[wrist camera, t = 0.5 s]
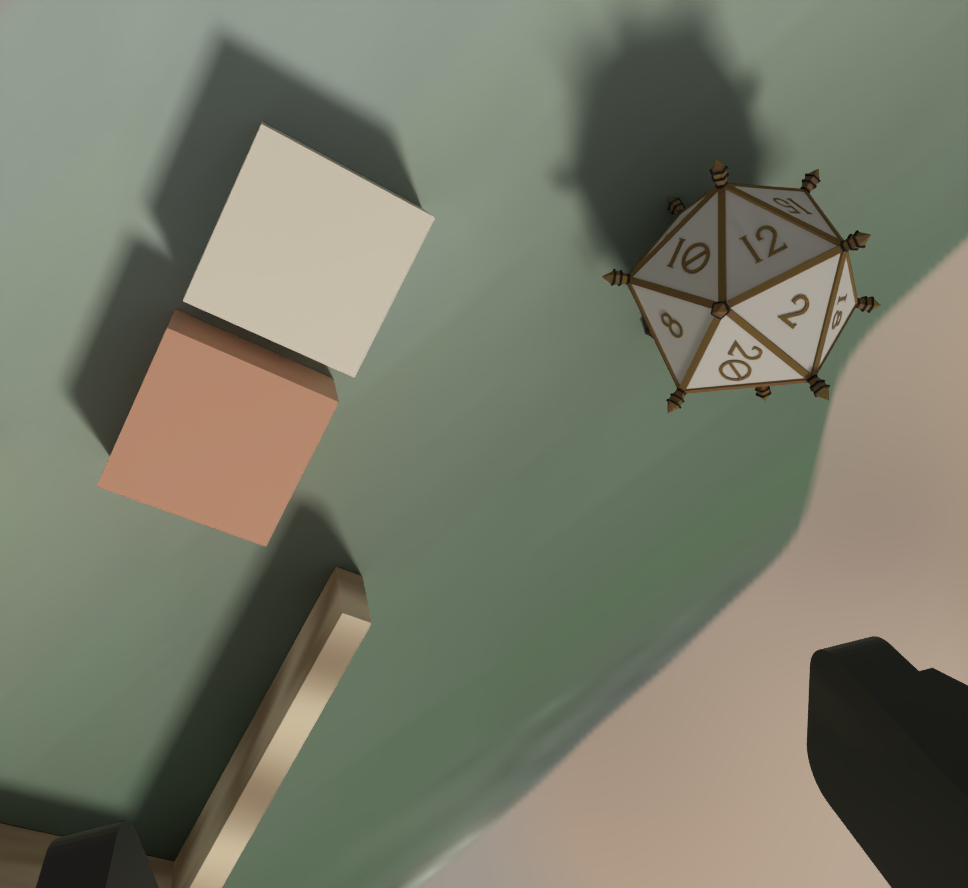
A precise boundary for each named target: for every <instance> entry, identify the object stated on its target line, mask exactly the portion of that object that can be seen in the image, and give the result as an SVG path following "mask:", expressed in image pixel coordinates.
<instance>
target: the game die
mask: <svg viewBox="0 0 968 888" xmlns="http://www.w3.org/2000/svg"><path fill="white" fill-rule="evenodd" d="M727 169H728V166H724V165H723V164H722V163H721V162H720V161H719V160H717V159H716V160H715V162H714V164H713V167H712V169H711V170H710V172H711V174H712V179H713V181H714V182H716V186H715V187H714V188H712V189H711V190H710V191H708V192H707V193H705V194H704V195H703V196H701V197H700V198H699V199H697V200H696V201H695V202H693V203H692V204H691V205H689V206H688V207H686V208H685V207H684V205H683V203H682V202H681V200H680V198H677V199H676V198H670V197H669V207H668V210H671V211H672V214H676V215H677V217H676V218H675V219H674V220H673V221H672V223H671V224H670V225H669V226H668V227H667V229H666V230H665V231H664V232H663V233H662V235H661V236H660V237H659V238H658V240H657V241H656V242H655V243H654V244H653V246H652V247H651V248H650V249H649V250H648V252H647V253H646V254H645V255H644V256H643V258H642V259H641V260H640V261H639V263H638V264H637V265H636V266H635V267H634V269H633V270H632V271H631V272H630V273H629V274H625V273H623V272H622V270H620V272H619V271H615V269H613V271H612V272H610V273H608V274H606V275H604V276H602V277H603V278H604V279H605V280H607V281H608V282H609V283H610V284H611V286H613V285H614V284H616V285H618V286H620V285H622V284H627V285H628V287H629V289H630V291H631V293H632V295H633V297H634V299H635V301H636V303H637V305H638V308H639V310H640V312H641V314H642V316H643V318H644V320H645V322H646V324H647V331H646V335H649V336H651V337H652V338H653V339H654V341H655V343H656V345H657V347H658V349H659V351H660V353H661V355H662V357H663V360H664V362H665V364H666V366H667V368H668V370H669V372H670V374H671V376H672V378H673V380H674V382H675V385H676V387H677V390H676V391H675V392H674V393H673V394H670V395H671V397H670V398H669V399H667V400H666V401H668V413H669V412H672V411H674V410H676V409H678V408H680V409H681V404H682V402H683V403H684V396H685V394H687V393H696V392H707V391H718V390H729V389H740V388H751V387H756V389H755V391H757V393H756V396H759V397H761V398H762V399H764V400H765V401H766V399H767V398H768V396H769V395H770V394H771V391H770V387H769V386H773V385H784V384H795V383H806V382H808V383H809V384H810V389H811V391H813V392H814V395H815V397H817V396H818V397H821V398H824V399H827V400H829V387H830V385H826V383H825V380H821V379H820V378H818V376H817V374H818V372H819V370H820V368H821V367H822V365H823V363H824V362H825V360H826V358H827V356H828V355H829V353H830V351H831V349H832V348H833V346H834V344H835V342H836V341H837V339H838V337H839V336H840V334H841V332H842V330H843V329H844V327H845V325H846V323H847V322H848V320H849V318H850V316H851V315H852V313H853V311H854V309H855V308H859V309H860V310H861V311H862V312H863V311H864V310H865V311H867V312H868V313H870V311H871V310H873V309H875V308H877V307H879V306H880V304H879V303H878V302H877V301H876V300H875V299H874V297H869V298H867V296H865V297H861V298H860V299H859V298H857V293H856V288H855V283H854V278H853V273H852V268H851V262H850V257H849V252H848V251H849V250H858V248H865V244H866V242H867V241H868V239H869V237H870V236H871V235H870V234H866V233H861V232H859V231H858V230H857V231H856V232H855V233H854V234H853V235H852V234H849V236H848V238H847V239H846V240H843V238H842V237H841V236H840V234H839V233H838V232H837V230H836V229H835V228H834V226H833V225H832V223H831V222H830V221H829V219H828V218H827V217H826V215H825V214H824V213H823V211H822V210H821V209H820V207H819V206H818V205H817V203H816V202H815V201H814V199H813V198H812V196H811V195H810V191H811V190H813V189H814V188H816V187H817V186H816V184H817V183H819V182H820V180H819V169H817V170H815V171H813V172H811V173H809V174H805V179H804V180H803V179H802V187H801V188H800V189H797V188H784V187H771V186H758V185H745V184H732V183H727V177H728V175H729V173H727ZM684 208H685V209H684Z"/></svg>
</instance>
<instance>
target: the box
mask: <svg viewBox="0 0 968 888" xmlns="http://www.w3.org/2000/svg"><path fill="white" fill-rule="evenodd" d="M371 624H372V622H371V617H370V612H369V607H368V602H367V597H366V592H365V587H364V582H363V577H362V576H360V575H357V574H355V573H352V572H349V571H347V570H344V569H341V568H339V567H335V568H334V570H333V572H332V574H331V576H330V578H329V579H328V581H327V583H326V585H325V587H324V589H323V590H322V592H321V594H320V596H319V598H318V600H317V601H316V603H315V605H314V607H313V609H312V611H311V612H310V614H309V616H308V618H307V620H306V622H305V623H304V625H303V627H302V629H301V631H300V633H299V634H298V636H297V638H296V640H295V642H294V644H293V645H292V647H291V649H290V651H289V653H288V655H287V656H286V658H285V660H284V662H283V664H282V666H281V667H280V669H279V671H278V673H277V675H276V676H275V678H274V680H273V682H272V684H271V686H270V687H269V689H268V691H267V693H266V695H265V697H264V698H263V700H262V702H261V704H260V706H259V708H258V709H257V711H256V713H255V715H254V717H253V719H252V720H251V722H250V724H249V726H248V728H247V730H246V731H245V733H244V735H243V737H242V739H241V741H240V742H239V744H238V746H237V748H236V750H235V752H234V753H233V755H232V757H231V759H230V761H229V763H228V764H227V766H226V768H225V770H224V772H223V774H222V775H221V777H220V779H219V781H218V783H217V785H216V786H215V788H214V790H213V792H212V794H211V796H210V797H209V799H208V801H207V803H206V805H205V807H204V808H203V810H202V812H201V814H200V816H199V817H198V819H197V821H196V823H195V825H194V827H193V828H192V830H191V832H190V834H189V836H188V838H187V839H186V841H185V843H184V845H183V847H182V849H181V850H180V852H179V854H178V856H177V858H176V860H175V861H170V860H165V859H161V858H156V857H152V856H147V855H146V856H147V859H148V862H149V864H150V867H151V869H152V872H153V874H154V877H155V879H156V882H157V884H158V887H159V888H222V886H223V885H224V883H225V881H226V879H227V878H228V876H229V874H230V872H231V871H232V869H233V867H234V865H235V863H236V862H237V860H238V858H239V856H240V855H241V853H242V851H243V849H244V848H245V846H246V844H247V842H248V841H249V839H250V837H251V835H252V833H253V832H254V830H255V828H256V826H257V825H258V823H259V821H260V819H261V818H262V816H263V814H264V812H265V811H266V809H267V807H268V805H269V804H270V802H271V800H272V798H273V796H274V795H275V793H276V791H277V789H278V788H279V786H280V784H281V782H282V781H283V779H284V777H285V775H286V774H287V772H288V770H289V768H290V766H291V765H292V763H293V761H294V759H295V758H296V756H297V754H298V752H299V751H300V749H301V747H302V745H303V744H304V742H305V740H306V738H307V736H308V735H309V733H310V731H311V729H312V728H313V726H314V724H315V722H316V721H317V719H318V717H319V715H320V714H321V712H322V710H323V708H324V707H325V705H326V703H327V701H328V699H329V698H330V696H331V694H332V692H333V691H334V689H335V687H336V685H337V684H338V682H339V680H340V678H341V677H342V675H343V673H344V671H345V669H346V668H347V666H348V664H349V662H350V661H351V659H352V657H353V655H354V654H355V652H356V650H357V648H358V647H359V645H360V643H361V641H362V639H363V638H364V636H365V634H366V632H367V631H368V629H369V627H370V625H371ZM59 837H60V836H56V835H51V834H47V833H42V832H38V831H33V830H29V829H24V828H19V827H15V826H10V825H6V824H1V823H0V888H36V885H37V882H38V878H39V875H40V872H41V868H42V865H43V861H44V858H45V855H46V852H47V849H48V847H49V845H50V843H51V842H52V841H53V840H54V839H56V838H59Z"/></svg>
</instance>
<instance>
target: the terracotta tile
mask: <svg viewBox="0 0 968 888" xmlns="http://www.w3.org/2000/svg"><path fill="white" fill-rule="evenodd" d="M338 403H339V400H338V396H337V392H336V388H335V383H334V379H333V378H330V377H328V376H326V375H324V374H321V373H319V372H317V371H315V370H312V369H310V368H308V367H305V366H303V365H301V364H299V363H296V362H294V361H292V360H290V359H287V358H285V357H283V356H281V355H278V354H276V353H274V352H271V351H269V350H267V349H265V348H262V347H260V346H258V345H256V344H253V343H251V342H249V341H247V340H244V339H242V338H240V337H237V336H235V335H233V334H231V333H228V332H226V331H224V330H222V329H219V328H217V327H215V326H213V325H210V324H208V323H206V322H203V321H201V320H199V319H197V318H194V317H192V316H190V315H188V314H185V313H183V312H181V311H179V310H176V309H175V310H174V312H173V315H172V317H171V319H170V321H169V324H168V326H167V328H166V330H165V333H164V335H163V337H162V339H161V342H160V344H159V346H158V348H157V351H156V353H155V355H154V357H153V360H152V362H151V364H150V366H149V369H148V371H147V373H146V376H145V378H144V380H143V382H142V385H141V387H140V389H139V391H138V394H137V396H136V398H135V400H134V403H133V405H132V407H131V409H130V412H129V414H128V416H127V418H126V421H125V423H124V425H123V427H122V430H121V432H120V434H119V436H118V439H117V441H116V443H115V445H114V448H113V450H112V452H111V454H110V457H109V459H108V461H107V464H106V466H105V468H104V471H103V473H102V475H101V477H100V480H99V482H98V484H97V487H100V488H103V489H105V490H108V491H111V492H114V493H117V494H120V495H122V496H125V497H128V498H131V499H134V500H136V501H139V502H142V503H145V504H148V505H150V506H153V507H156V508H159V509H162V510H165V511H167V512H170V513H173V514H176V515H179V516H181V517H184V518H187V519H190V520H193V521H195V522H198V523H201V524H204V525H207V526H209V527H212V528H215V529H218V530H221V531H224V532H226V533H229V534H232V535H235V536H238V537H240V538H243V539H246V540H249V541H252V542H254V543H257V544H260V545H263V546H267V544H268V542H269V540H270V538H271V536H272V534H273V532H274V530H275V528H276V526H277V524H278V522H279V520H280V518H281V516H282V514H283V512H284V510H285V508H286V506H287V504H288V502H289V500H290V498H291V496H292V494H293V492H294V490H295V488H296V486H297V484H298V482H299V480H300V478H301V476H302V474H303V472H304V470H305V468H306V466H307V464H308V462H309V460H310V458H311V456H312V454H313V452H314V450H315V448H316V446H317V444H318V443H319V441H320V439H321V437H322V435H323V433H324V431H325V429H326V427H327V425H328V423H329V421H330V419H331V417H332V415H333V413H334V411H335V409H336V407H337V405H338Z"/></svg>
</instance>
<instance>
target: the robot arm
mask: <svg viewBox="0 0 968 888" xmlns="http://www.w3.org/2000/svg"><path fill="white" fill-rule="evenodd" d="M807 730H808V731H807V752H808V759H809V763H810V767H811V770H812V773H813V776H814V778H815V781H816V783H817V785H818V787H819V789H820V791H821V793H822V794H823V796H824V797H825V799H826V800H827V802H828V803H829V804H830V806H831V807H832V809H833V810H834V811H835V813H836V814H837V815H838V817H839V818H840V819H841V821H842V822H843V823H844V825H845V826H846V827H847V829H848V830H849V831H850V833H851V834H852V835H853V837H854V838H855V839H856V841H857V842H858V843H859V844H860V846H861V847H862V848H863V850H864V851H865V853H866V854H867V855H868V857H869V858H870V859H871V861H872V862H873V863H874V865H875V866H876V867H877V869H878V870H879V871H880V873H881V874H882V875H883V877H884V878H885V879H886V881H887V882H888V883H889V885H890V886H891V887H892V888H968V686H967V685H965V684H964V683H962V682H960V681H958V680H956V679H954V678H952V677H950V676H948V675H946V674H944V673H942V672H940V671H938V670H936V669H934V668H930V669H926V670H922V671H918V670H917V669H916V668H915V667H914V666H913V665H912V664H910V663H909V662H908V661H907V660H906V659H905V658H904V657H903V656H902V655H901V654H900V653H899V652H898V651H897V650H896V649H894V648H893V647H892V646H891V645H890V644H889V643H888V642H887V641H885V640H884V639H882V638H880V637H869V638H864V639H860V640H857V641H852V642H849V643H844V644H840V645H836V646H833V647H828V648H824V649H820V650H817V651H816V652H815V653H814V654H813V656H812V658H811V662H810V679H809V704H808V728H807ZM36 888H159V887H158V884H157V882H156V879H155V877H154V874H153V872H152V869H151V867H150V864H149V862H148V859H147V856H146V854H145V851H144V849H143V846H142V844H141V841H140V839H139V836H138V834H137V832H136V829H135V828H134V826H133V825H132V824H131V822H129V821H123V822H119V823H115V824H111V825H107V826H103V827H99V828H95V829H91V830H87V831H83V832H79V833H75V834H71V835H67V836H63V837H59V838H56V839H54V840H53V841H52V842H51V843H50V845H49V847H48V849H47V852H46V855H45V858H44V861H43V865H42V868H41V872H40V875H39V878H38V882H37V885H36Z"/></svg>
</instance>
